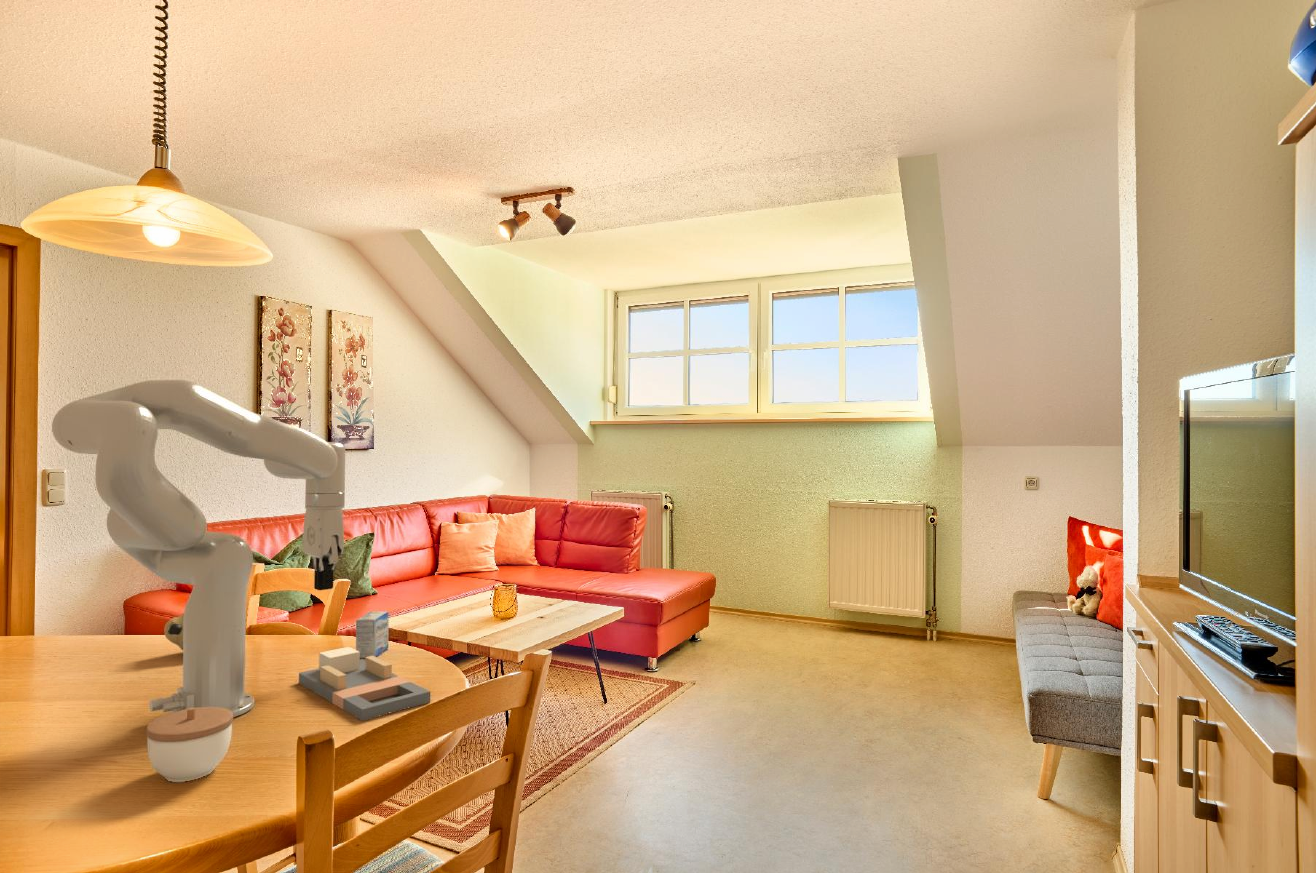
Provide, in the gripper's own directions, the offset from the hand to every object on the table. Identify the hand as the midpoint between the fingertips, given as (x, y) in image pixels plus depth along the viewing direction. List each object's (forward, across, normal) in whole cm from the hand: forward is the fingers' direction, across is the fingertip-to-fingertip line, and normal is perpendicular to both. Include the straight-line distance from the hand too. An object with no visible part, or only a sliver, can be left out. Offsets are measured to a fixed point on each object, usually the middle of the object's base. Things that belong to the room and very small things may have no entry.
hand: (323, 588), depth 156 cm
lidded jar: (+17, +34, -33) cm, 50 cm away
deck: (+17, +18, 0) cm, 25 cm away
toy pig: (+17, -30, -15) cm, 38 cm away
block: (+15, +8, 0) cm, 17 cm away
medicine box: (+17, -4, +13) cm, 22 cm away
